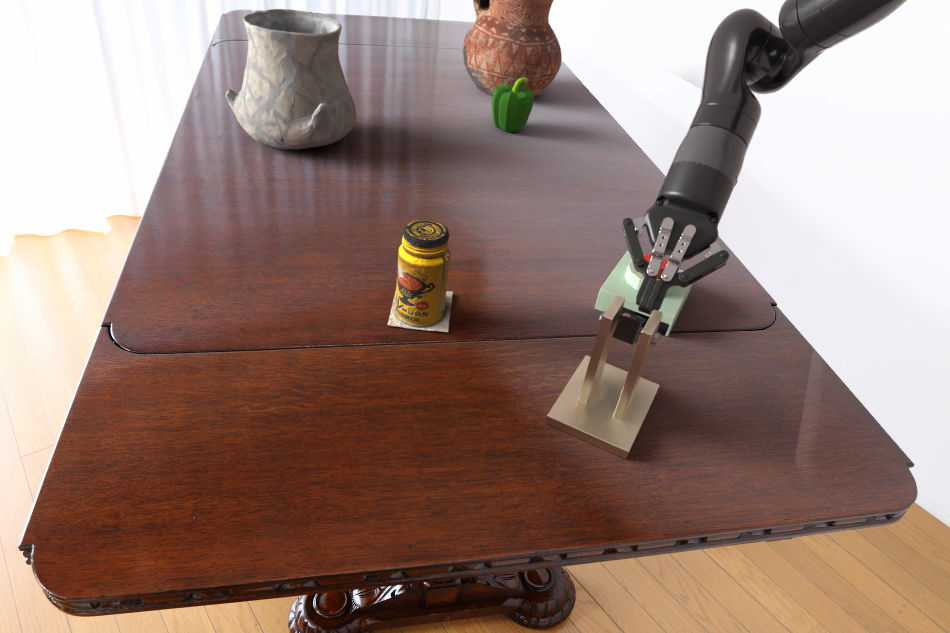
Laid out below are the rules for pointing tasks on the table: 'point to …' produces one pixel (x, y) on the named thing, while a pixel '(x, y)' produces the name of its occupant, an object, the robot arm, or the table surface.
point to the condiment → (422, 278)
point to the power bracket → (608, 390)
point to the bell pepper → (512, 105)
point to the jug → (512, 45)
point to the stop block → (627, 286)
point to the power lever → (634, 326)
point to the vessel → (293, 81)
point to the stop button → (648, 258)
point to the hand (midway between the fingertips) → (644, 311)
